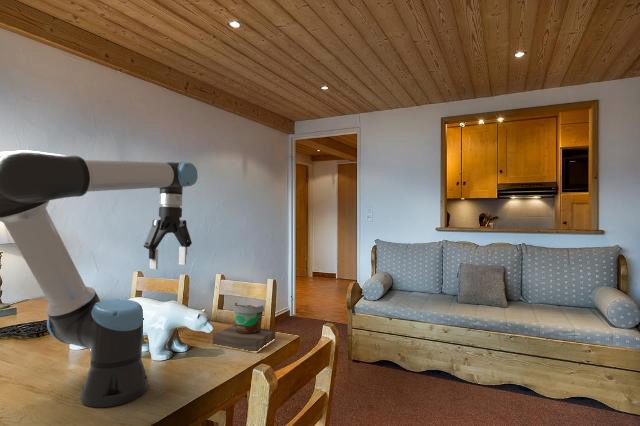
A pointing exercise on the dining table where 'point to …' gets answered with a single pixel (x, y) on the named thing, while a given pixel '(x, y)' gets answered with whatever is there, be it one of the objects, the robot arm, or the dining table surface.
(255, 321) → the food container
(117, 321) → the robot arm
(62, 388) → the dining table surface
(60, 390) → the dining table surface
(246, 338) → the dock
